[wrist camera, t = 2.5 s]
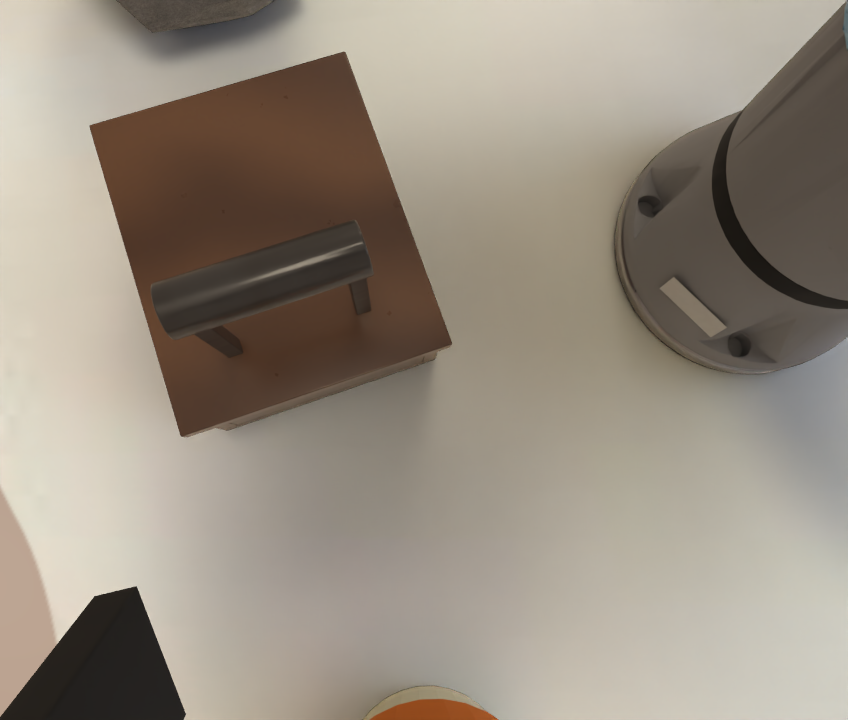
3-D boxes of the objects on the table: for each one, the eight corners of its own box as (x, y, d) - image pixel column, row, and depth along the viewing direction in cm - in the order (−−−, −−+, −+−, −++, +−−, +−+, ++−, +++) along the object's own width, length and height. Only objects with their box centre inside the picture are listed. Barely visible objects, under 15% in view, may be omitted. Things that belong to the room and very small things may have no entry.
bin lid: (451, 347, 30) (475, 294, 21) (186, 437, 29) (89, 424, 19) (346, 60, 32) (326, -101, 23) (96, 133, 31) (-29, -7, 22)
